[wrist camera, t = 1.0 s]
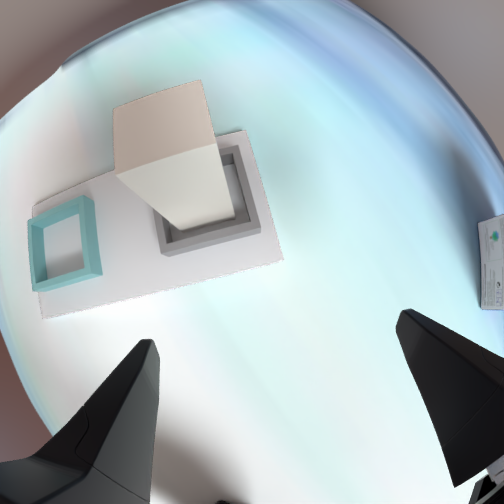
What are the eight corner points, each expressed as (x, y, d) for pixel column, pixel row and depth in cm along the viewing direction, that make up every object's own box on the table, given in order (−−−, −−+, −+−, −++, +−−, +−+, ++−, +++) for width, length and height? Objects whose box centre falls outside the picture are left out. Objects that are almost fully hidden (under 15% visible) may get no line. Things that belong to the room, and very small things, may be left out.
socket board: (246, 135, 24) (245, 117, 21) (282, 261, 23) (286, 256, 20) (37, 208, 24) (21, 201, 21) (48, 318, 22) (29, 319, 19)
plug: (235, 218, 22) (216, 143, 10) (183, 233, 22) (115, 175, 10) (223, 168, 23) (198, 69, 11) (173, 182, 23) (113, 97, 11)
